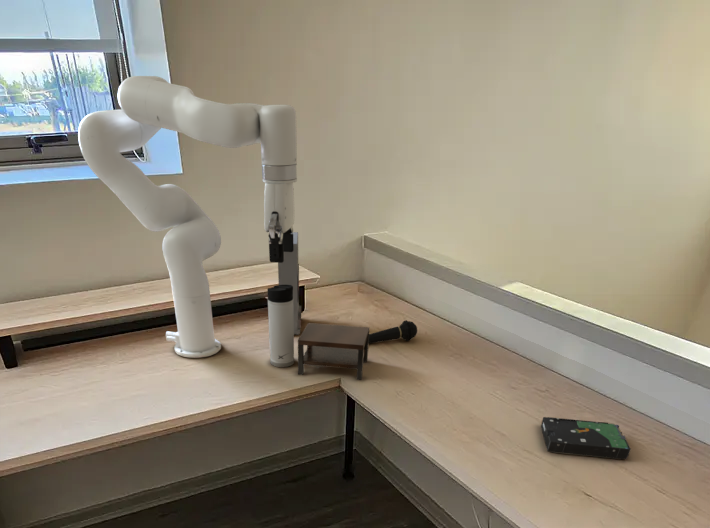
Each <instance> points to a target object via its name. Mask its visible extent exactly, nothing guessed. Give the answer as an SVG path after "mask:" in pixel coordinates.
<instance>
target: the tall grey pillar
mask: <svg viewBox="0 0 710 528" xmlns="http://www.w3.org/2000/svg"><path fill="white" fill-rule="evenodd" d="M291 234H293V244H294V251H293V252H284V262H283V263H277V273H278V279H277V280H278V285H292V286H293V319H294V335H297V336H298V335H301V328H302V305H300V304H299V303H300V299H299V298H300V296H299V295H300V263H299V232H297V231H295V232H294V231H293V233H291Z"/></svg>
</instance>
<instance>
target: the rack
mask: <svg viewBox="0 0 710 528" xmlns="http://www.w3.org/2000/svg"><path fill="white" fill-rule="evenodd" d="M369 334H370V327H367V326H357V325H356V326H354V325H342V324H329V323H315V322H314V323H313V322H308V323H307V324H306V325H305V327H304V329H303V330H302V332H301V333H300V336H299V338H298V339H297V374H298V375H304V373H305V365H306V366H316V367H317V366H318V367H329V368H339V369H350V370H351V369H352V370H356V380H357V381H362V380H363V369H364V368H363V367H364V363H367V362H368V360H369V359H368V356H369V345H370V344H369ZM305 346H306V350H305V348H304V347H305Z"/></svg>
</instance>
